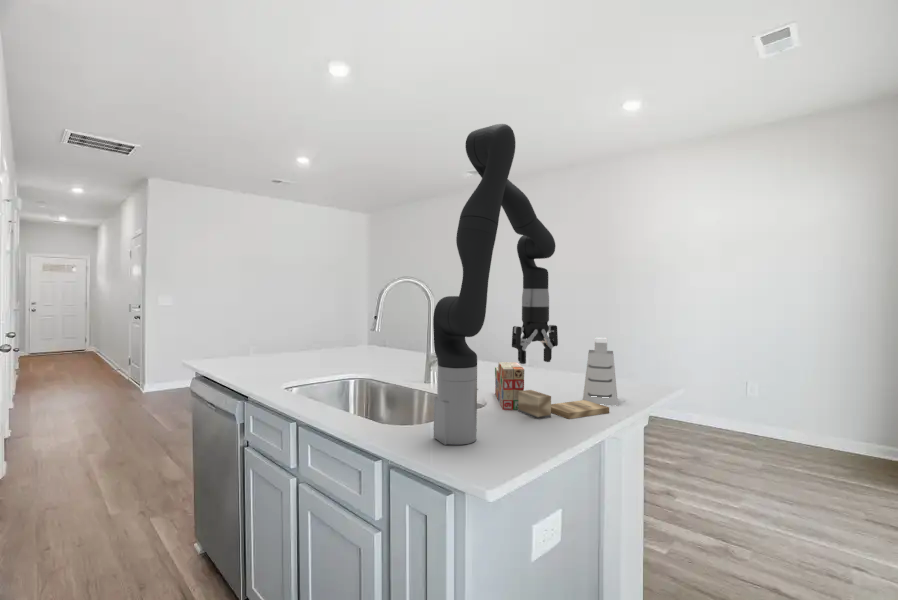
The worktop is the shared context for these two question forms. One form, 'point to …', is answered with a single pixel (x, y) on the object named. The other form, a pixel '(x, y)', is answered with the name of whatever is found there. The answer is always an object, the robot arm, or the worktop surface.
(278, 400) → the worktop surface
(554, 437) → the worktop surface
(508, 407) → the stack of blocks
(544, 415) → the block
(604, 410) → the board
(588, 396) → the grater
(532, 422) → the worktop surface
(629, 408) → the worktop surface
